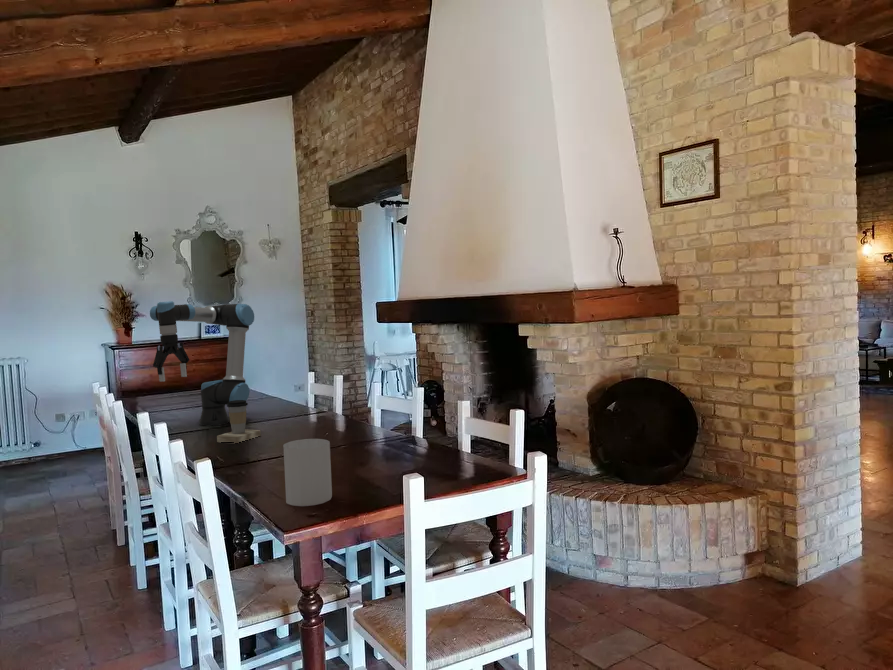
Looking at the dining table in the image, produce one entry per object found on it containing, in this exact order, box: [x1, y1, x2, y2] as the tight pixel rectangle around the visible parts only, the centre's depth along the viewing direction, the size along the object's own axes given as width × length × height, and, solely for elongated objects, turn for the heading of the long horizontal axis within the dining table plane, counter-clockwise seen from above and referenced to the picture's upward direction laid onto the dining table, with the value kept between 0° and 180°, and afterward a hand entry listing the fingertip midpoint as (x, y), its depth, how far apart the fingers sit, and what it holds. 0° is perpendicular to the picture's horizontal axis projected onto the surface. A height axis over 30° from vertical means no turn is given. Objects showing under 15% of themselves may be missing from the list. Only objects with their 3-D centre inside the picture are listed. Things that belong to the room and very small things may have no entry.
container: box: [282, 438, 333, 507], centre depth 206 cm, size 14×14×18 cm
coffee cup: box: [226, 400, 249, 434], centre depth 304 cm, size 9×9×15 cm
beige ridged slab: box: [216, 428, 262, 444], centre depth 304 cm, size 16×12×3 cm
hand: (173, 379), depth 305 cm, fingers open, 13 cm apart
